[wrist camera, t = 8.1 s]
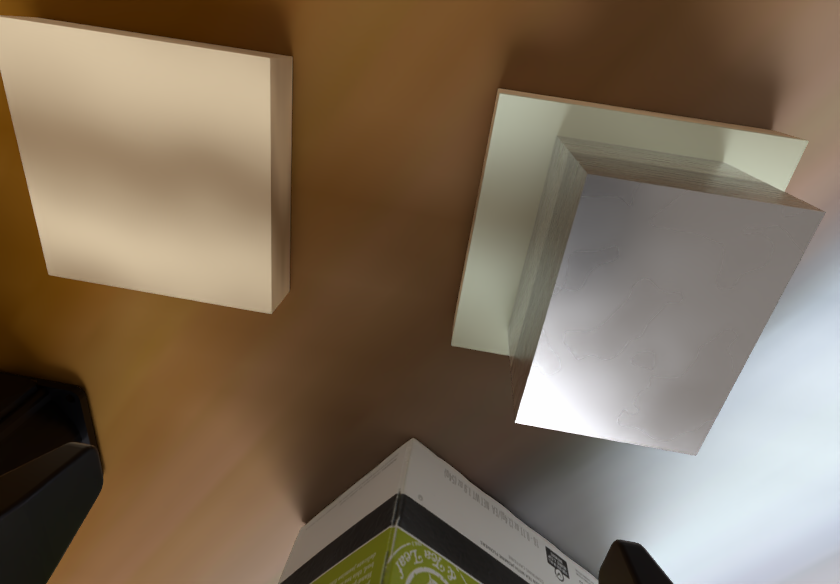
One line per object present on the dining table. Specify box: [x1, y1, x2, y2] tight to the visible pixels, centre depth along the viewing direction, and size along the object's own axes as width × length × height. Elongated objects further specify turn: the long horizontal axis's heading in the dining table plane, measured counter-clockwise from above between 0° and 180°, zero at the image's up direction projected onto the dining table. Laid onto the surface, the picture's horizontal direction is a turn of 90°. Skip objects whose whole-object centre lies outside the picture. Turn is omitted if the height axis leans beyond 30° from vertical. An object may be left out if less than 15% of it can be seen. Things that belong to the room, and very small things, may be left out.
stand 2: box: [451, 88, 808, 356], centre depth 17 cm, size 9×9×2 cm
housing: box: [507, 136, 826, 456], centre depth 14 cm, size 7×5×5 cm
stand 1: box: [0, 15, 293, 314], centre depth 18 cm, size 9×9×2 cm
